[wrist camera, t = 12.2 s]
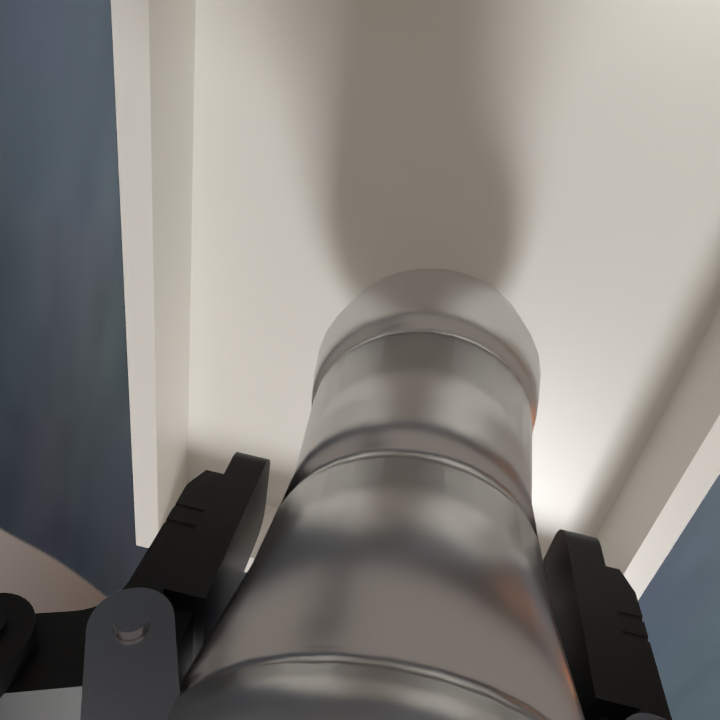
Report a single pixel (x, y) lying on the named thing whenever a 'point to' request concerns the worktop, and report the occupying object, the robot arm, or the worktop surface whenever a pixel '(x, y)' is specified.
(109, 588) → the worktop surface
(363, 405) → the plastic bottle
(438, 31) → the plastic tray
